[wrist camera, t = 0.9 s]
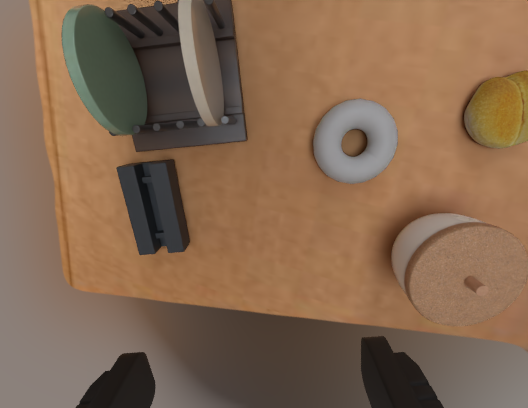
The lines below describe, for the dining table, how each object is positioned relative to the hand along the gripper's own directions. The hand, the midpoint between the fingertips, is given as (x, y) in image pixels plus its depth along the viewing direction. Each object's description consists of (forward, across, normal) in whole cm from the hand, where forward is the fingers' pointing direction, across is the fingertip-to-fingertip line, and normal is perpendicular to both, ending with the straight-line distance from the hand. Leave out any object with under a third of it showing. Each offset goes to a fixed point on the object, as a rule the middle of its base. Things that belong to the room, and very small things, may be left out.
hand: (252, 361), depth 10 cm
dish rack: (+27, +8, -14) cm, 31 cm away
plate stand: (+27, +15, +1) cm, 30 cm away
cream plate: (+25, +4, -14) cm, 29 cm away
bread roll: (+27, -29, -6) cm, 40 cm away
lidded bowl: (+27, -21, +11) cm, 36 cm away
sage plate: (+25, +13, -14) cm, 32 cm away
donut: (+27, -11, -4) cm, 30 cm away
